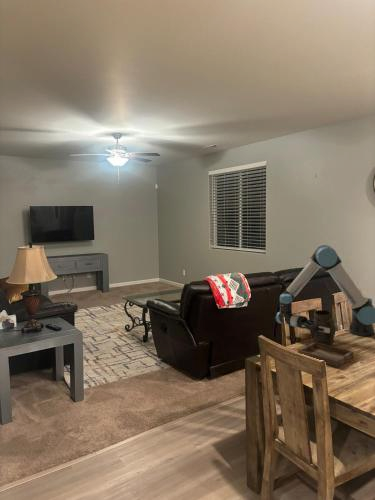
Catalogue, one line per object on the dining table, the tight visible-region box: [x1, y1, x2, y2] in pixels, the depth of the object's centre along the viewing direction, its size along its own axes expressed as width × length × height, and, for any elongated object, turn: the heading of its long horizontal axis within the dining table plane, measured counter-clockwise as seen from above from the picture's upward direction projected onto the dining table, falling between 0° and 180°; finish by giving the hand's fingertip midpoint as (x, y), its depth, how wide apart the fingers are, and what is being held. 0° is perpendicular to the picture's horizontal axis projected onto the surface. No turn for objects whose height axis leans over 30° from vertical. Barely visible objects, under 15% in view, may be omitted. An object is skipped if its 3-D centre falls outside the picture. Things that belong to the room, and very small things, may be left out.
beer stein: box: [313, 309, 336, 346], centre depth 217 cm, size 15×11×20 cm
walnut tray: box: [297, 341, 354, 369], centre depth 201 cm, size 18×22×4 cm
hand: (333, 328), depth 214 cm, fingers closed on beer stein, 10 cm apart
